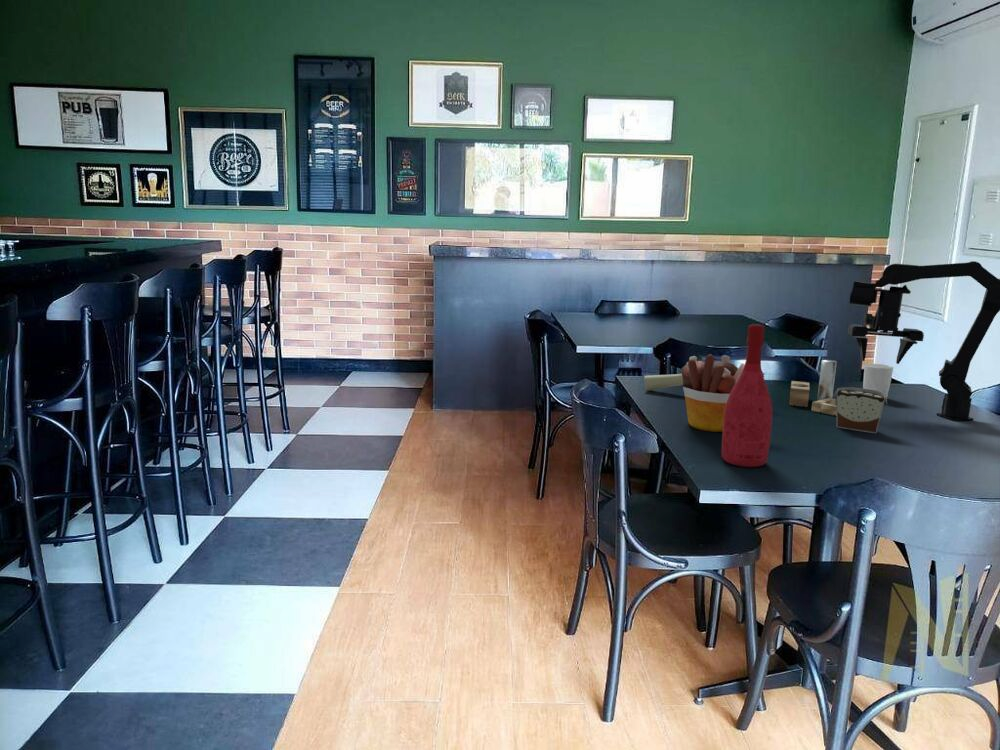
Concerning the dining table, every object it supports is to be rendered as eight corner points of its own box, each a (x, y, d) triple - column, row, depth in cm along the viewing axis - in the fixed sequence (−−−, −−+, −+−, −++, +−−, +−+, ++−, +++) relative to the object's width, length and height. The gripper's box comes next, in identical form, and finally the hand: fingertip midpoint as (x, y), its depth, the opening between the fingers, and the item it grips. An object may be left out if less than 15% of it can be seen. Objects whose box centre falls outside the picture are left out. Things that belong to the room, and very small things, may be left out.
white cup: (882, 395, 231) (886, 364, 229) (893, 401, 223) (897, 368, 221) (856, 394, 231) (860, 363, 229) (866, 399, 224) (870, 367, 222)
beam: (789, 396, 225) (791, 380, 224) (807, 398, 223) (809, 382, 222) (789, 405, 214) (790, 387, 213) (807, 407, 212) (809, 389, 211)
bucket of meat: (689, 414, 200) (695, 342, 196) (752, 423, 191) (759, 348, 188) (666, 430, 183) (672, 351, 179) (734, 441, 174) (742, 359, 171)
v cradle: (833, 406, 214) (834, 398, 213) (850, 418, 200) (851, 409, 200) (804, 404, 214) (805, 396, 214) (819, 416, 201) (820, 407, 200)
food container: (886, 429, 189) (891, 391, 187) (882, 434, 184) (888, 395, 182) (834, 421, 196) (839, 385, 194) (830, 426, 191) (834, 388, 189)
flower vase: (653, 412, 232) (770, 401, 217) (643, 408, 221) (765, 396, 206) (651, 375, 234) (766, 362, 219) (640, 370, 223) (760, 355, 208)
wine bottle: (757, 455, 164) (770, 321, 158) (775, 469, 154) (789, 327, 148) (714, 454, 164) (725, 320, 158) (729, 468, 154) (742, 326, 148)
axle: (834, 406, 214) (839, 362, 212) (821, 406, 214) (826, 362, 211) (826, 402, 218) (831, 359, 215) (814, 402, 217) (818, 359, 215)
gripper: (914, 307, 214) (905, 360, 217) (846, 303, 217) (838, 354, 221) (928, 312, 203) (919, 367, 206) (856, 307, 207) (848, 361, 210)
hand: (880, 362), depth 211 cm, fingers open, 9 cm apart
